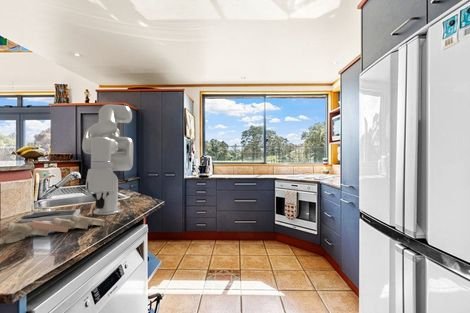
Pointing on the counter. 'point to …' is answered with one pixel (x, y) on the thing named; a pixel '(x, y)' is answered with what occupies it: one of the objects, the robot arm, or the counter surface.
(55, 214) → the picture frame
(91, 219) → the birch domino
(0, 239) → the birch domino
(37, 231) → the birch domino
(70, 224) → the birch domino
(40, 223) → the terracotta domino
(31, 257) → the counter surface
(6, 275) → the counter surface
